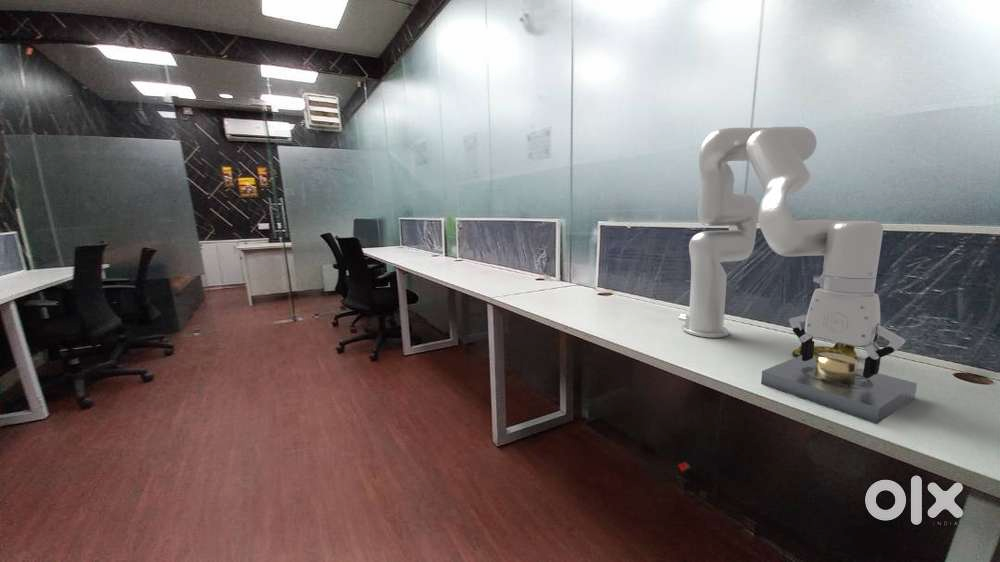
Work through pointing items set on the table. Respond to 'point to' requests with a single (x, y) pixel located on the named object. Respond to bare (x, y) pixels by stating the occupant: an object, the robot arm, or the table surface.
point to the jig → (841, 389)
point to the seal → (831, 350)
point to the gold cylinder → (836, 367)
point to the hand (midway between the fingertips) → (836, 367)
